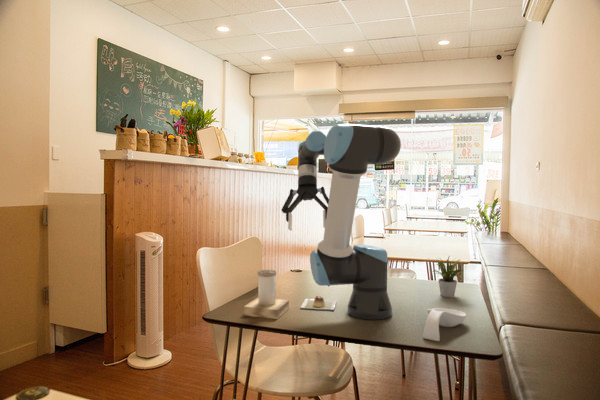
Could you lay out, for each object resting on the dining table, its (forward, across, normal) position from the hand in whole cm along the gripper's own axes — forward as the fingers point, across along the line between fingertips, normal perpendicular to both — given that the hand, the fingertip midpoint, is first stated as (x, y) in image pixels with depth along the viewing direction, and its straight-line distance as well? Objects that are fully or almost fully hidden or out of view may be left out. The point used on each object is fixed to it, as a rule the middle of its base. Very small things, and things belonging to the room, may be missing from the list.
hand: (307, 228), depth 155 cm
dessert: (+29, -3, -6) cm, 30 cm away
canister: (+29, +13, +8) cm, 32 cm away
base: (+31, +13, +6) cm, 35 cm away
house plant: (+22, -50, -29) cm, 62 cm away
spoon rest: (+38, -44, +8) cm, 59 cm away
